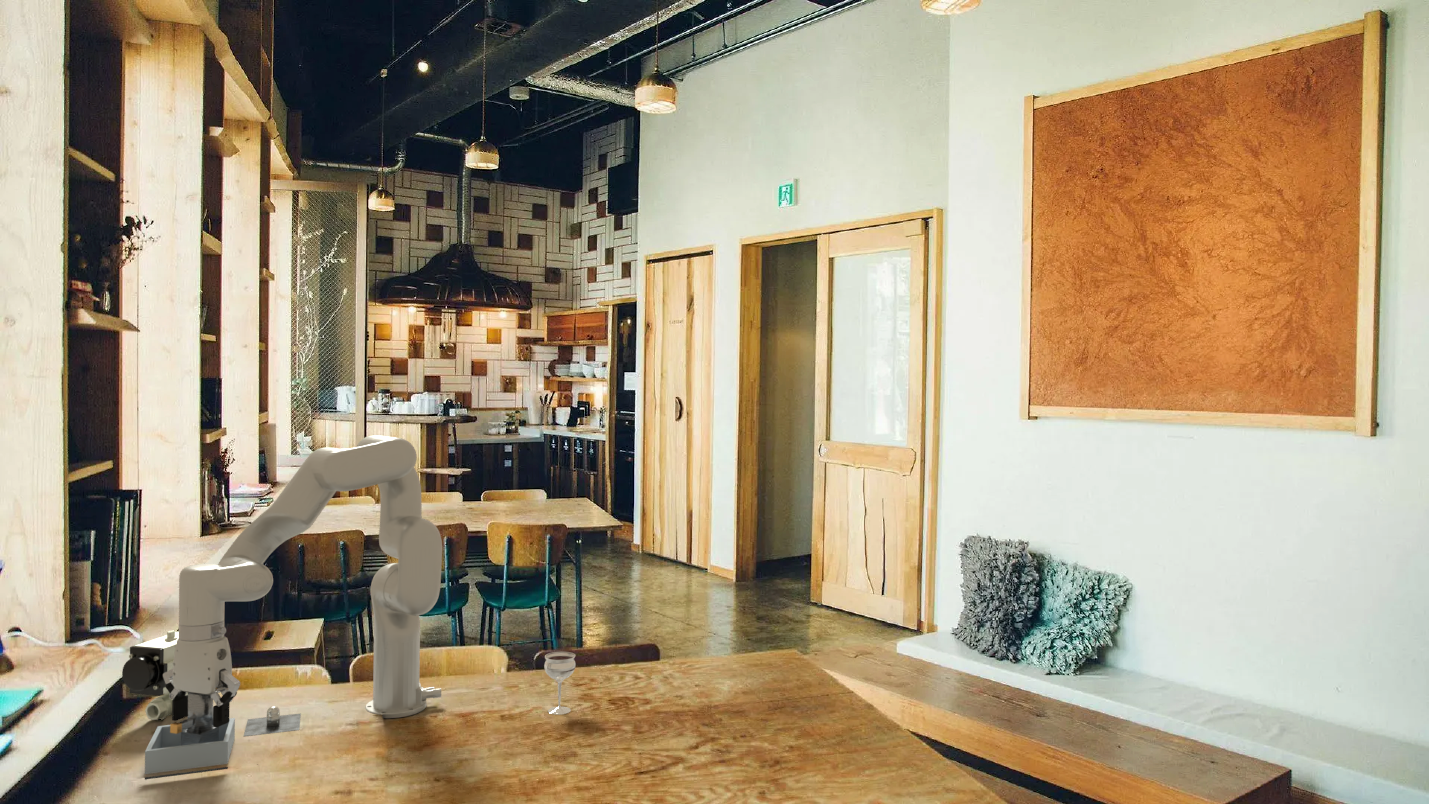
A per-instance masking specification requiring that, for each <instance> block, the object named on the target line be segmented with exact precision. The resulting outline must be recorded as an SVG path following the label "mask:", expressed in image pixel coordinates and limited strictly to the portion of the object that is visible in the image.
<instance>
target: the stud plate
mask: <svg viewBox="0 0 1429 804" xmlns="http://www.w3.org/2000/svg"><path fill="white" fill-rule="evenodd" d="M301 715H302V713H293V714H285V715H284V714H283V715H281V710H280V707H278V706H276V705H272V706H270V707H268V709H267V710H266V717H265V716H264V717H256V718H247V721H246V725H245V729H244V733H243V737H249V736H250V737H253V736H260V735H269V734H270V735H271V734H277V733H286V732H287V733H288V732H295V731H299V730H300V726H301V717H302V716H301Z"/></svg>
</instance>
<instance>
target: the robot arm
mask: <svg viewBox="0 0 1429 804" xmlns="http://www.w3.org/2000/svg"><path fill="white" fill-rule="evenodd" d="M417 457H418V455H417V450H416V449H415V447H414V446H413V444H412V443H411V442H410V441H408V440H407V439H405V438H401V437H396V436H389V435H388V436H386V435H381V434H380V435H376V434H375V435H374V434H373V435H369V436H365V437H363V438H362V439H361V440H360V441H359V442H358V443H357V446H356V447H349V448H339V447H338V448H337V447H328V446H327V447H321V448H317V449H315V450H314V451H312V453H311V452H310V454H309V455H308V456H307V457H306V459H305V460H304V462H303V463H302V464H301V465H300V467H299V468H298V470H297V471H296V472H295V473H294V475H293V476H292V478H291V479H290V480H289V482H288V483H287V484H286V486H284V488H283V490H282V491H281V492H280V494H279V495H278V496H277V497H276V499H275V501H274V502H273V503H272V504H271V505H270V507H268V508H267V509H266V510H265V511H263V512H262V513H261V514H260V515H259V516H258V517H257V518H255V519H254V521H252V522H251V523H250V524H249V525H248V526H246V527H245V529H243V531H242V532H240V534H239V535H238V536H237V537H236V538H235V540H234V541H233V542H232V544H231V545H230V546H229V548H228V549H227V550H226V552H225V553H224V555H222V557H221V558H220V560H219V561H218V562H217V564H216V563H198V564H192V565H189V566H186V567H184V568H182V569H181V571H180V573H179V580H178V631H179V638H178V639H177V643H176V647H175V653H174V661H173V669H171V670H169V671H167V672H165V673H164V674H163V678H164V681H165V683H166V689H167V690H168V692H169V693H170V695H169V697H170V699H173V700H172V714H171V721H173V722H177V721H181V720H182V719H185V718H188V695H186V693H187V692H190V693H197V694H204V695H211V697H212V698H213V703H215V705H213V727H216V728H217V727H219V726H222V725H224V724H226V723H228V722H229V718H230V705H231V704H230V703H231V702H233V700H234V698H235V697H236V696H237V693H238V690H239V688H240V686H241V681H240V680H239V679H237V678H236V677H235V676H234V675H233V665H232V663H233V662H232V655H231V654H232V653H231V647H230V643H229V640H228V637H226V636H225V634H226V633H227V628H226V627H225V606H226V605H225V602H226V603H227V602H252V601H256V600H260V599H261V598H263V597H264V596H266V595H267V594H268V593H269V592H270V591H271V589H272V586H273V584H274V578H273V573H272V572H271V570H270V569H269V568H268V566H266V565H264V563H265V562H266V560H267V559H268V558H269V556H270V555H271V554H272V553H274V551H275V550H276V549H277V548H278V547H279V546H280V545H282V544H283V543H285V542H286V541H287V540H290V539H291V538H293V537H296V536H298V535H301V534H303V533H304V532H306V531H307V530H309V529H310V528H311V527H312V525H314V523H315V521H316V520H317V519H318V518H319V516H320V514H321V513H322V512H323V510H324V509H325V507H326V506H327V505H328V503H329V502H330V501H331V499H332V498H333V497H334V495H335V494H336V493H337V492H349V491H354V490H356V491H357V490H360V489H365V488H368V487H373V486H376V485H377V486H378V489H379V496H380V500H379V501H380V510H379V528H378V529H379V530H378V531H379V533H378V543H379V544H378V545H379V548H380V549H381V551H382V552H383V553H384V554H386V555H387V556H388V557H391V558H395V559H397V561H398V562H393V563H388V564H386V565H383V566H382V567H381V568H379V569H378V570H377V571H376V572H375V574H374V576H373V578H372V579H371V583H370V584H371V585H370V598H371V599H370V600H371V605H372V612H373V671H372V672H373V678H372V679H373V682H372V684H373V685H372V688H373V691H372V700H370V701H369V702H367V703H366V704H365V708H364V709H365V710H366V711H367V712H369V713H370V714H373V715H381V717H382V719H396V718H397V719H398V718H399V719H400V718H404V717H410V716H413V715H416V714H419V713H420V712H423V711H424V710H425V708H427V699H439V698H442V688H441V687H440V688H435V686H429V687H424V686H422V685H421V681H420V669H421V667H420V659H421V655H420V654H421V652H420V651H421V649H420V648H421V647H420V646H421V619H420V618H421V617H420V616H421V615H425V614H427V613H428V612H430V611H431V610H432V609H433V608H434V606H435V605H436V603H437V602H438V599H439V596H440V592H441V581H442V564H443V563H442V560H443V541H442V540H443V539H442V536H441V535H442V534H440V531H439V528H438V527H437V526H436V524H434V523H433V522H432V521H430V520H428V519H426V518H423V514H422V484H421V481H420V478H419V475H418V472H417V470H416V469H415V466H416V464H417V461H418V460H417ZM220 693H221V696H220Z"/></svg>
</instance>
